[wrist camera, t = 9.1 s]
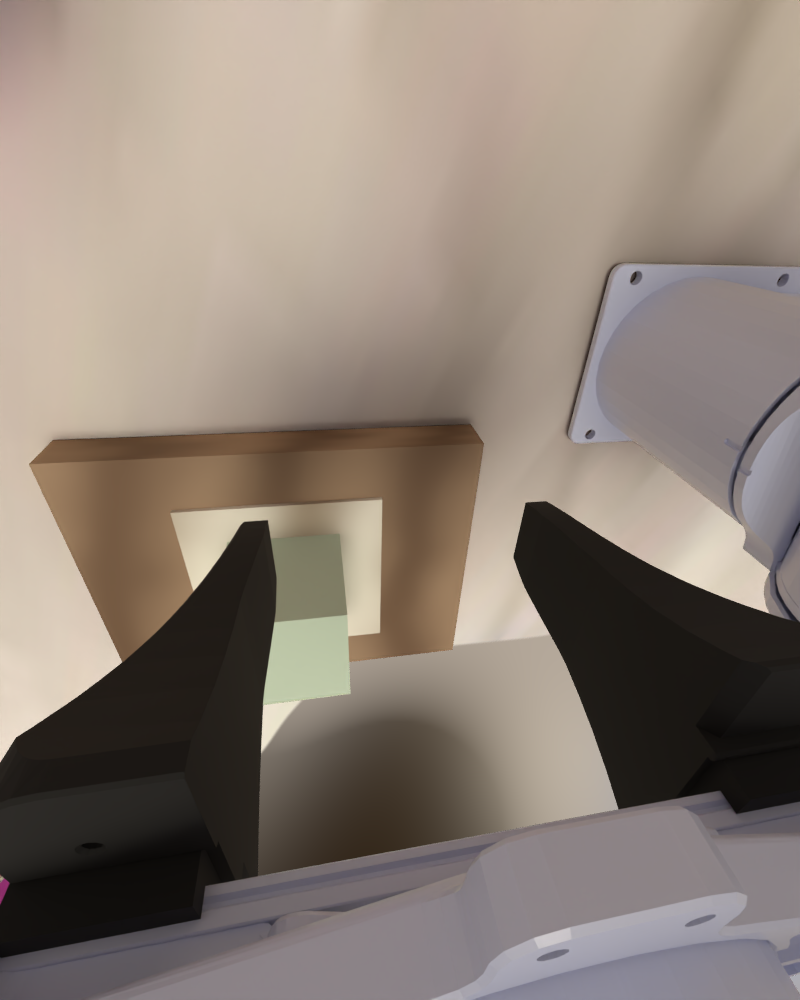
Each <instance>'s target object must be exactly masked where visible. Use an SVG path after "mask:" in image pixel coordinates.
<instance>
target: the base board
mask: <svg viewBox="0 0 800 1000" xmlns="http://www.w3.org/2000/svg"><path fill="white" fill-rule="evenodd" d="M483 446H484V443H483V442H482V440H481V439H480V437H479V436H478V434H477V433H476V431H475V430H474V428H473V427H472V426H471V424H468V425H442V426H416V427H390V428H364V429H338V430H312V431H286V432H260V433H234V434H208V435H182V436H156V437H130V438H104V439H78V440H53V441H52V442H51V443H50V444H49V445H48V446H47V447H46V448H45V449H44V450H43V451H42V452H41V453H40V454H39V455H38V456H37V457H36V458H35V459H34V460H33V461H32V462H31V463H30V464H29V465H30V467H31V469H32V472H33V474H34V476H35V478H36V480H37V482H38V484H39V486H40V489H41V491H42V493H43V495H44V497H45V499H46V501H47V503H48V505H49V508H50V510H51V512H52V514H53V516H54V518H55V520H56V522H57V524H58V527H59V529H60V531H61V533H62V535H63V537H64V539H65V541H66V544H67V546H68V548H69V550H70V552H71V554H72V556H73V558H74V560H75V563H76V565H77V567H78V569H79V571H80V573H81V575H82V577H83V580H84V582H85V584H86V586H87V588H88V590H89V592H90V594H91V596H92V599H93V601H94V603H95V605H96V607H97V609H98V611H99V613H100V615H101V618H102V620H103V622H104V624H105V626H106V628H107V630H108V632H109V635H110V637H111V639H112V641H113V643H114V645H115V647H116V649H117V651H118V654H119V656H120V658H121V660H122V662H123V661H125V660H126V659H127V658H128V657H129V656H130V655H131V654H133V653H134V652H135V651H136V650H137V649H138V648H139V647H141V646H142V645H143V644H144V643H145V642H146V641H147V640H148V639H149V638H150V637H151V636H152V635H154V634H155V633H156V632H157V631H158V630H159V629H160V628H161V627H162V626H163V625H164V624H165V623H166V622H167V621H168V620H169V619H170V618H171V616H172V615H173V614H174V613H175V612H176V611H177V610H178V609H179V608H180V607H181V606H182V604H183V603H184V602H185V601H186V600H187V599H188V597H189V596H190V595H191V594H192V593H193V591H194V590H195V589H196V588H197V587H198V585H199V584H200V583H201V582H202V580H203V579H204V578H205V577H206V575H207V574H208V573H209V571H210V570H211V569H212V567H213V566H214V564H215V563H216V562H217V560H218V559H219V558H220V556H221V555H222V553H223V552H224V550H225V549H226V546H227V542H230V541H231V540H232V538H233V536H234V535H235V533H236V532H237V530H238V528H239V527H240V525H241V524H242V523H243V522H247V521H262V520H268V524H269V530H270V537H271V539H273V538H287V537H301V536H314V535H328V534H340V544H341V554H342V564H343V575H344V585H345V596H346V606H347V619H348V645H349V662H352V661H360V660H369V659H377V658H386V657H395V656H403V655H411V654H420V653H429V652H437V651H445V650H452V648H453V641H454V635H455V628H456V622H457V615H458V609H459V602H460V596H461V589H462V583H463V576H464V570H465V563H466V557H467V550H468V544H469V537H470V531H471V524H472V518H473V511H474V505H475V498H476V492H477V485H478V479H479V472H480V466H481V459H482V453H483Z"/></svg>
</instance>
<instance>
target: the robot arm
mask: <svg viewBox="0 0 800 1000" xmlns="http://www.w3.org/2000/svg"><path fill="white" fill-rule="evenodd" d="M634 272H636V273H637V276H636V278H635V280H634V281H633V282H632V283H630V277H631V275H632V274H633V273H634ZM780 276H781V279H780V281H779V282H778V283H777V281H778V279H779V278H780ZM589 430H591V432H590V433H589V434H588V435H586V436H585V434H586V432H587V431H589ZM568 437H569V439H570V440H571V441H572V442H574V443H578V444H579V443H600V442H621V441H634V442H635V443H637V444H638V445H639V446H641V447H642V448H643V449H644V450H646V451H647V452H648V453H650V454H651V455H652V456H653V457H655V458H656V459H657V460H659V461H660V462H661V463H662V464H664V465H665V466H666V467H668V468H669V469H670V470H671V471H673V472H674V473H675V474H677V475H678V476H679V477H680V478H682V479H683V480H684V481H686V482H687V483H688V484H689V485H691V486H692V487H693V488H695V489H696V490H697V491H698V492H700V493H701V494H702V495H704V496H705V497H706V498H707V499H709V500H710V501H711V502H713V503H714V504H715V505H716V506H718V507H719V508H720V509H722V510H723V511H724V512H725V513H727V514H728V515H729V516H731V517H732V518H733V519H734V520H736V521H737V522H738V523H740V524H741V525H743V527H744V529H745V532H746V539H745V543H744V546H743V549H744V550H745V551H747V552H748V553H749V554H750V555H752V556H753V557H754V558H755V559H756V560H758V561H759V562H760V563H761V564H762V565H764V566H765V567H766V568H767V569H768V570H770V573H769V574H768V577H767V579H766V581H765V586H764V598H765V603H766V606H767V609H768V611H769V613H770V614H769V613H766V612H763V611H760V610H757V609H754V608H751V607H748V606H745V605H742V604H739V603H737V602H734V601H731V600H729V599H726V598H723V597H721V596H718V595H716V594H713V593H711V592H708V591H706V590H704V589H701V588H699V587H696V586H694V585H692V584H689V583H687V582H685V581H683V580H680V579H678V578H676V577H674V576H672V575H670V574H668V573H666V572H664V571H662V570H660V569H658V568H656V567H654V566H652V565H650V564H648V563H646V562H644V561H643V560H641V559H639V558H637V557H635V556H634V555H632V554H630V553H628V552H627V551H625V550H623V549H621V548H620V547H618V546H617V545H615V544H613V543H612V542H610V541H608V540H607V539H605V538H603V537H602V536H600V535H599V534H597V533H596V532H594V531H592V530H591V529H589V528H588V527H586V526H585V525H583V524H582V523H580V522H579V521H577V520H575V519H574V518H572V517H571V516H569V515H568V514H566V513H565V512H563V511H561V510H560V509H558V508H557V507H555V506H553V505H552V504H550V503H548V502H546V501H543V502H528V503H526V504H525V509H524V513H523V517H522V522H521V526H520V530H519V535H518V539H517V544H516V548H515V552H514V560H515V563H516V566H517V569H518V571H519V574H520V577H521V579H522V582H523V584H524V587H525V589H526V591H527V593H528V595H529V596H530V598H531V600H532V602H533V604H534V606H535V608H536V609H537V611H538V613H539V615H540V617H541V619H542V620H543V622H544V624H545V626H546V628H547V629H548V631H549V633H550V635H551V637H552V639H553V640H554V642H555V644H556V646H557V648H558V649H559V651H560V653H561V655H562V657H563V659H564V661H565V663H566V665H567V668H568V670H569V672H570V675H571V677H572V680H573V682H574V685H575V687H576V689H577V692H578V694H579V697H580V699H581V702H582V704H583V707H584V710H585V712H586V715H587V717H588V720H589V722H590V725H591V728H592V730H593V733H594V736H595V739H596V742H597V745H598V748H599V750H600V753H601V756H602V759H603V762H604V765H605V768H606V770H607V774H608V777H609V780H610V783H611V787H612V790H613V793H614V796H615V799H616V802H617V806H618V810H613V811H608V812H603V813H597V814H592V815H587V816H581V817H575V818H570V819H565V820H559V821H554V822H549V823H543V824H538V825H532V826H527V827H522V828H516V829H511V830H505V831H500V832H494V833H489V834H484V835H479V836H473V837H468V838H462V839H457V840H451V841H447V842H441V843H435V844H430V845H424V846H419V847H414V848H408V849H403V850H397V851H392V852H387V853H381V854H376V855H370V856H365V857H360V858H354V859H349V860H343V861H338V862H333V863H327V864H322V865H317V866H311V867H306V868H301V869H295V870H290V871H285V872H279V873H274V874H268V875H263V876H258V828H259V791H260V760H261V736H262V715H263V699H264V690H265V682H266V676H267V669H268V662H269V655H270V649H271V642H272V635H273V628H274V621H275V614H276V590H277V576H276V570H275V563H274V557H273V550H272V543H271V537H270V530H269V524H268V520H262V521H247V522H243V523H242V524H241V525H240V527H239V528H238V530H237V532H236V533H235V535H234V536H233V538H232V540H231V541H230V543H229V544H228V546H227V547H226V549H225V550H224V552H223V553H222V555H221V556H220V558H219V559H218V560H217V562H216V563H215V564H214V566H213V567H212V569H211V570H210V571H209V573H208V574H207V575H206V577H205V578H204V579H203V580H202V582H201V583H200V584H199V585H198V587H197V588H196V589H195V590H194V591H193V593H192V594H191V595H190V596H189V597H188V599H187V600H186V601H185V602H184V603H183V604H182V606H181V607H180V608H179V609H178V610H177V611H176V612H175V613H174V614H173V615H172V616H171V618H170V619H169V620H168V621H167V622H166V623H165V624H164V625H163V626H162V627H161V628H160V629H159V630H158V631H157V632H156V633H155V634H154V635H152V636H151V637H150V638H149V639H148V640H147V641H146V642H145V643H144V644H143V645H142V646H141V647H139V648H138V649H137V650H136V651H135V652H134V653H133V654H131V655H130V656H129V657H128V658H127V659H126V660H125V661H123V662H122V663H121V664H120V665H119V666H117V667H116V668H115V669H114V670H112V671H111V672H110V673H108V674H107V675H106V676H105V677H103V678H102V679H101V680H99V681H98V682H97V683H95V684H94V685H93V686H91V687H90V688H89V689H87V690H86V691H85V692H83V693H82V694H81V695H79V696H78V697H76V698H75V699H74V700H72V701H71V702H69V703H68V704H66V705H65V706H63V707H62V708H60V709H59V710H57V711H56V712H54V713H53V714H51V715H50V716H48V717H47V718H46V719H44V720H43V721H41V722H40V723H38V724H37V725H35V726H34V727H32V728H31V729H29V730H27V731H26V732H24V733H23V734H21V735H20V736H18V737H16V739H15V740H14V742H13V743H12V745H11V747H10V748H9V750H8V751H7V753H6V754H5V756H4V758H3V759H2V761H1V762H0V875H1V876H2V877H3V878H4V879H6V880H7V881H8V882H9V885H8V888H7V890H6V892H5V895H4V897H3V899H2V902H1V904H0V1000H800V994H799V992H798V991H797V989H796V987H795V986H794V984H793V982H792V980H791V979H790V976H794V975H797V974H800V267H797V266H748V265H698V264H649V263H622V264H619V265H617V266H616V267H614V269H613V270H612V271H611V273H610V276H609V279H608V283H607V286H606V290H605V294H604V298H603V302H602V305H601V309H600V313H599V317H598V321H597V324H596V328H595V332H594V336H593V340H592V343H591V347H590V351H589V355H588V359H587V362H586V366H585V370H584V374H583V378H582V381H581V385H580V389H579V393H578V397H577V400H576V404H575V408H574V412H573V416H572V419H571V423H570V427H569V431H568Z"/></svg>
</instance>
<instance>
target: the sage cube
mask: <svg viewBox="0 0 800 1000" xmlns="http://www.w3.org/2000/svg"><path fill="white" fill-rule="evenodd" d="M229 543H230V542H227V546H228V544H229ZM271 543H272V550H273V557H274V563H275V570H276V576H277V590H276V614H275V621H274V628H273V635H272V642H271V649H270V655H269V662H268V669H267V676H266V682H265V690H264V699H263V705H267V704H275V703H283V702H291V701H298V700H306V699H313V698H322V697H329V696H337V695H345V694H350V672H349V645H348V619H347V606H346V596H345V585H344V575H343V564H342V554H341V544H340V534H328V535H314V536H301V537H287V538H273V539H271ZM227 546H226V547H227Z"/></svg>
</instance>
